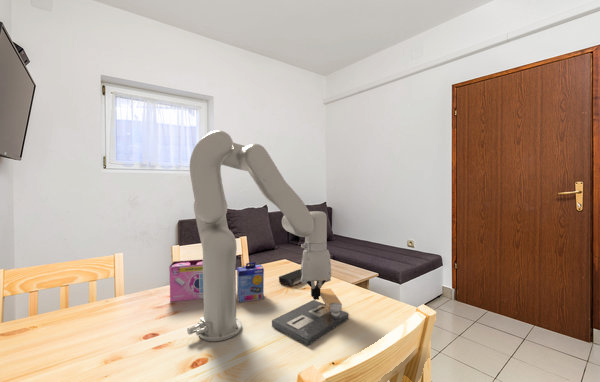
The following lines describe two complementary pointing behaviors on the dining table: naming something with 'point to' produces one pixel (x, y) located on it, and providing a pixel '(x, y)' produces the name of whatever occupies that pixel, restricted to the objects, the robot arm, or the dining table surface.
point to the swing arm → (331, 300)
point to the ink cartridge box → (250, 282)
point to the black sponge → (291, 278)
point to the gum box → (186, 280)
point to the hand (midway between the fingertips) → (315, 298)
